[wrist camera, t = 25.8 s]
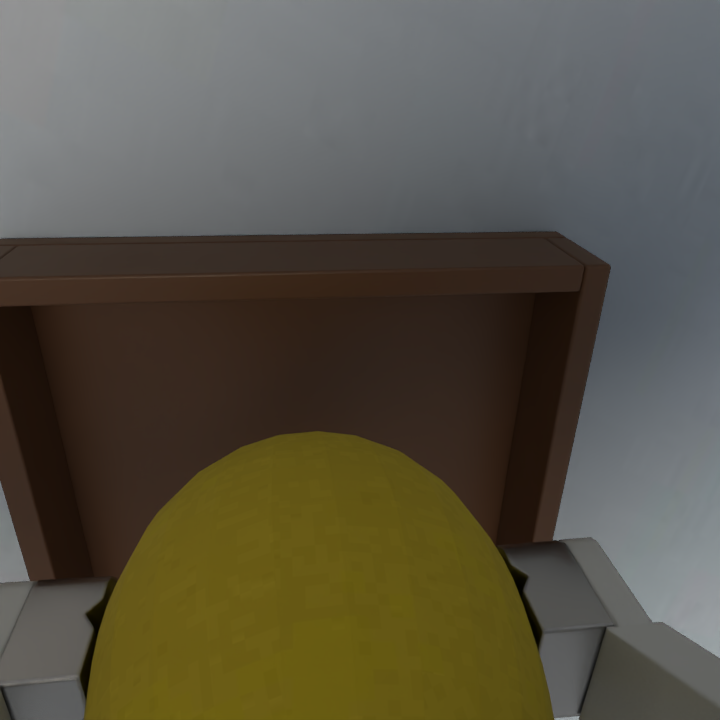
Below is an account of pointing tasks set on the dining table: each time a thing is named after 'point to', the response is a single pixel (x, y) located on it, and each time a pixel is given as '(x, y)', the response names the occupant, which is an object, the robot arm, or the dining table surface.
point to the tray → (284, 370)
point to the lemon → (316, 598)
